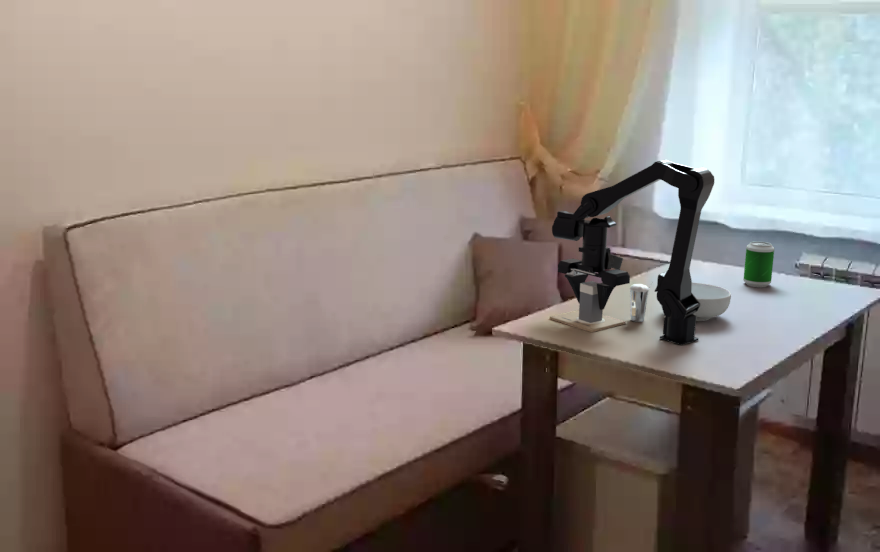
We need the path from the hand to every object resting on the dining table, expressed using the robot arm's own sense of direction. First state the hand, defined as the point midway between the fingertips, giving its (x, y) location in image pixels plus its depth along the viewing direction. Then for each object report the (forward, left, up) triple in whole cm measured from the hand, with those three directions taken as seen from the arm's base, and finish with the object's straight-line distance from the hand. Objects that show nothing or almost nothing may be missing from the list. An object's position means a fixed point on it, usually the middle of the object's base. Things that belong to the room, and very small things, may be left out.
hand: (591, 306), depth 234 cm
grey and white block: (0, 0, -3) cm, 3 cm away
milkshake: (-6, -11, -4) cm, 13 cm away
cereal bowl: (-12, -25, -4) cm, 28 cm away
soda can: (-2, -67, -4) cm, 67 cm away
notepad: (+1, 0, -4) cm, 4 cm away
